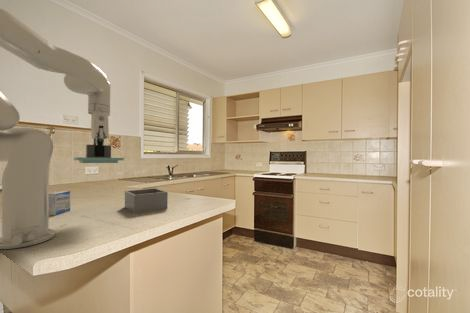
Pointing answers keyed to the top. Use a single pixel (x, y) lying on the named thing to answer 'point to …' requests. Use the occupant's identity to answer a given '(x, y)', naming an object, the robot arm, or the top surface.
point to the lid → (98, 159)
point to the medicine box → (59, 202)
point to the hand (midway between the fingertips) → (98, 155)
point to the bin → (145, 200)
